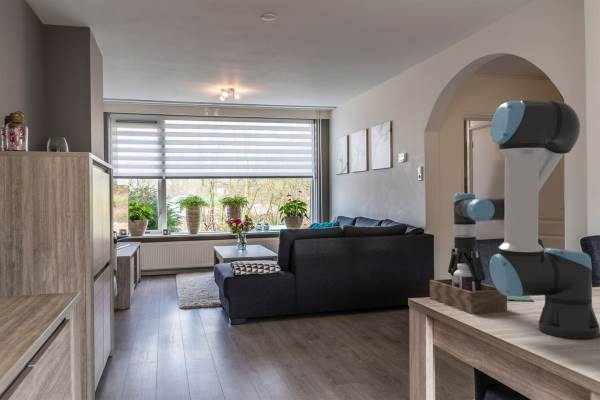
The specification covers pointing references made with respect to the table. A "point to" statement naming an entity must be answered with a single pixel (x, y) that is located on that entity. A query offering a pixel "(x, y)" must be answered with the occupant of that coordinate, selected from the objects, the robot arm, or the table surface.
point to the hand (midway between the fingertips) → (466, 296)
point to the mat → (519, 298)
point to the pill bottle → (463, 277)
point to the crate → (468, 297)
